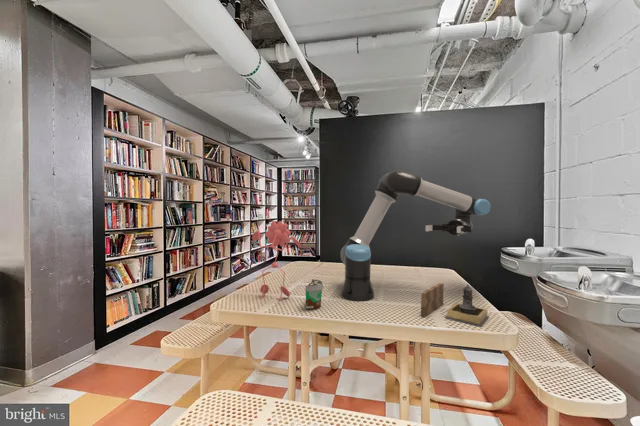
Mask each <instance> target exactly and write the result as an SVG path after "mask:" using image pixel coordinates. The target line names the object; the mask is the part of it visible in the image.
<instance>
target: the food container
mask: <svg viewBox="0 0 640 426" xmlns="http://www.w3.org/2000/svg"><path fill="white" fill-rule="evenodd" d="M323 289H324V284H323V281H321V280H319V279H311V282H310V283H308V285H305V289H304V290H305V311H314V310H319V309H320V308H321V306H322V305H321V304H322V293H323Z"/></svg>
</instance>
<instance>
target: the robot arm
mask: <svg viewBox="0 0 640 426" xmlns="http://www.w3.org/2000/svg"><path fill="white" fill-rule="evenodd" d="M374 193H375V196H374V199H373V201H372V202H371V204H370V206H369V208H368V210H367V212H366V214H365V216H364V218H363V219H362V221H361V223H360V225H359V227H358V228H357V229H356V232H355V233H354V235H353V236H351V237H349V239H348V241H347V242H346V244H344V246H343V247H342V248H341V249H340V255H339V256H340V260H341V262H342V264H343V265H344V269H345V270H344V271H345V272H344V281H343V285H342V288H341V291H340V292H341V294H340V295H341V298H343V299H346V300H349V301H352V302H353V301H356V302H364V301H365V302H366V301H370V300H373V299H374V298H375V291H374V288H373V284H372V281H371V262H372V261H371V256H372V251H371V247H370V243H371V241H372V239H373V238H374V236H375V234H376V232H377V230H378V229H379V226H380V225H381V223H382V221H383V220H384V217H385V215H386V213H387V212H388V210H389V208H390V207H391V205H392V204H394V203H396V201H397V200H398V198H399V197H400V195H408V196H411V197H415V196H418V197H421V198H424V199H427V200H430V201H433V202H436V203H439V204H442V205H445V206H448V207H451V208H453V209H454V219H451V220H449V221H448V222H447V223H442V224H441V223H438V224H425V232H429V233H431V232H433V231H441V232H448V233H449V234H450V235H452V236H458V237H459V236H460V235H463V234H468V233H472V231H473V230H472V229H473V227H474V225H473V222H472V221H471V220H472V219H471V217H472V216H485V215H487V214H488V213H490V211H491V202H490V201H488V200H487V199H484V198H477V197H473V196H470V195H467V194H465V193H462V192H459V191H456V190H452V189H450V188H447V187H444V186H441V185H438V184H435V183H432V182H429V181H427V180H424V179H423V178H422V176H419V175H416V174H414V173H411V172H408V171H406V170H402V169H396V170H393V171H389V172H388V173H385V174H384V175H382V176H381V177H380V179H379V180H378V183H377V187H376V189H375V191H374Z"/></svg>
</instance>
